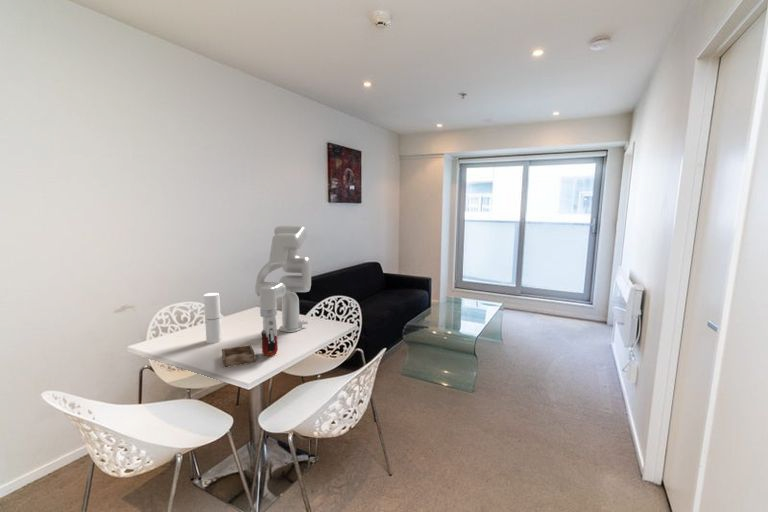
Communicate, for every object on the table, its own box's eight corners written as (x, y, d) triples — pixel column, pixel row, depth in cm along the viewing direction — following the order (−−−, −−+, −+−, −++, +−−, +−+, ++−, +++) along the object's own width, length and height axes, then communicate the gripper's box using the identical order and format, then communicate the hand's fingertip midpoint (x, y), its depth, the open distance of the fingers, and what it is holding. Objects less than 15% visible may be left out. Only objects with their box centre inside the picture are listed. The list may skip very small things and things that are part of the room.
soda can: (275, 349, 168) (274, 326, 166) (279, 354, 162) (279, 330, 161) (260, 353, 164) (259, 328, 162) (264, 358, 158) (263, 333, 157)
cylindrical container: (215, 343, 174) (212, 296, 171) (203, 342, 176) (200, 295, 172) (224, 338, 181) (222, 293, 178) (212, 337, 183) (210, 292, 179)
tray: (251, 351, 166) (251, 344, 166) (255, 361, 155) (255, 354, 154) (222, 356, 160) (221, 349, 160) (223, 367, 149) (223, 360, 148)
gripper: (280, 315, 154) (281, 353, 157) (273, 306, 170) (274, 340, 172) (263, 318, 151) (264, 356, 153) (257, 308, 166) (258, 342, 169)
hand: (269, 347), depth 163 cm, fingers closed on soda can, 7 cm apart
